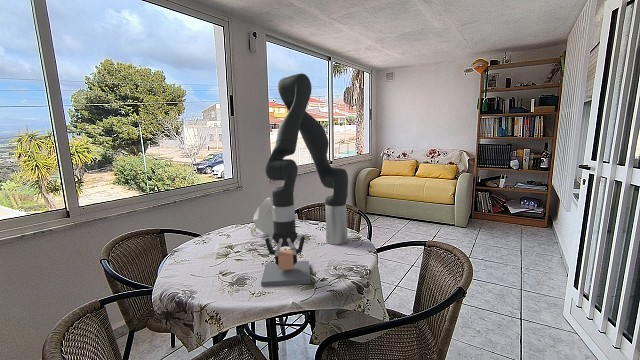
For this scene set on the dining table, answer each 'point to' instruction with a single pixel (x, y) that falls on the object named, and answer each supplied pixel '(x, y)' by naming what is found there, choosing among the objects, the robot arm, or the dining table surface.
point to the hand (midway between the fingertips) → (286, 264)
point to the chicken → (264, 218)
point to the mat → (286, 274)
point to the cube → (285, 259)
